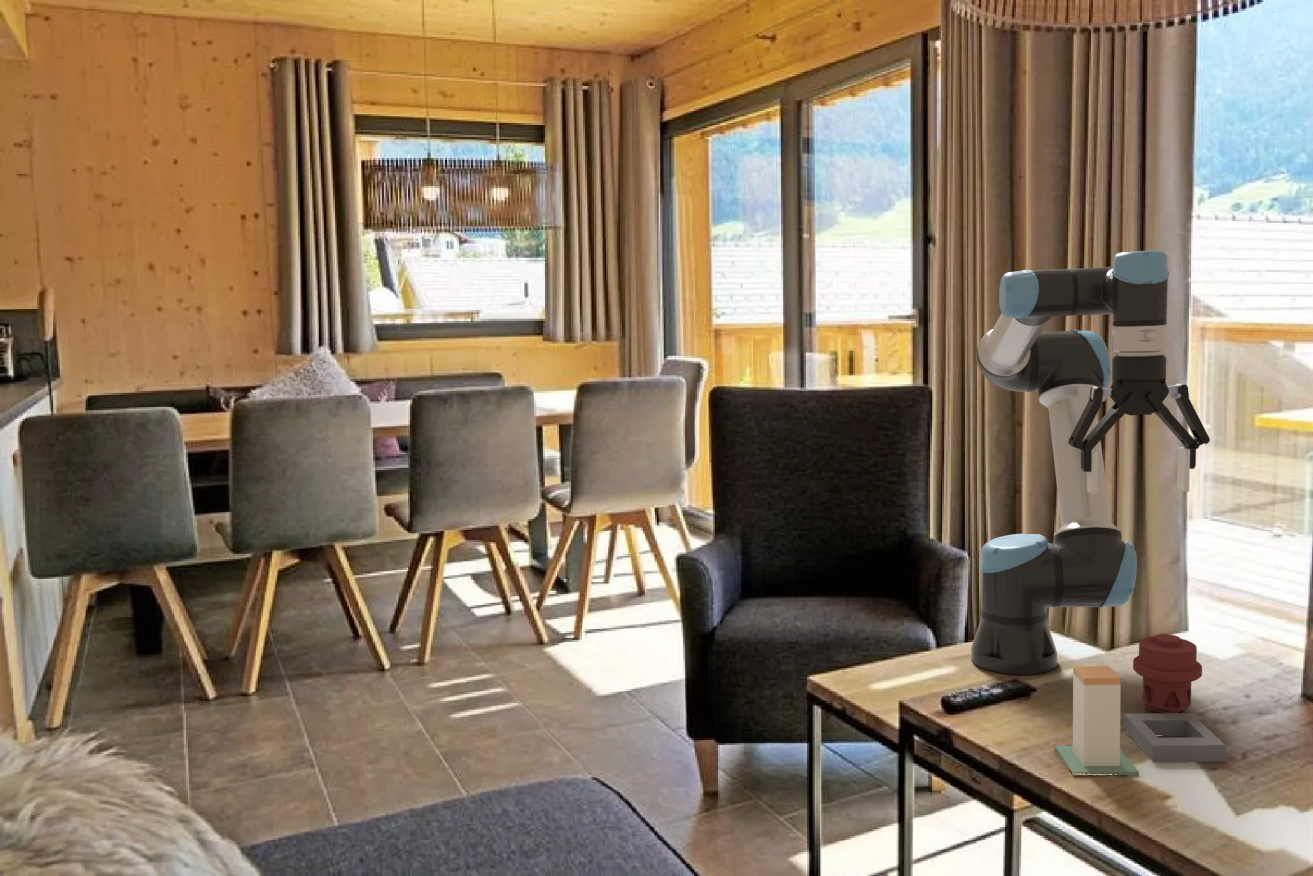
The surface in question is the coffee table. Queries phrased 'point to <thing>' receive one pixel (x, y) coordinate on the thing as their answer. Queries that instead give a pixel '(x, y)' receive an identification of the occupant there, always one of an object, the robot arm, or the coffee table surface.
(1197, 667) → the mechanical component
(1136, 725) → the grey square frame
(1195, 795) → the coffee table surface
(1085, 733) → the plug
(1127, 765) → the mat
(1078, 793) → the coffee table surface
